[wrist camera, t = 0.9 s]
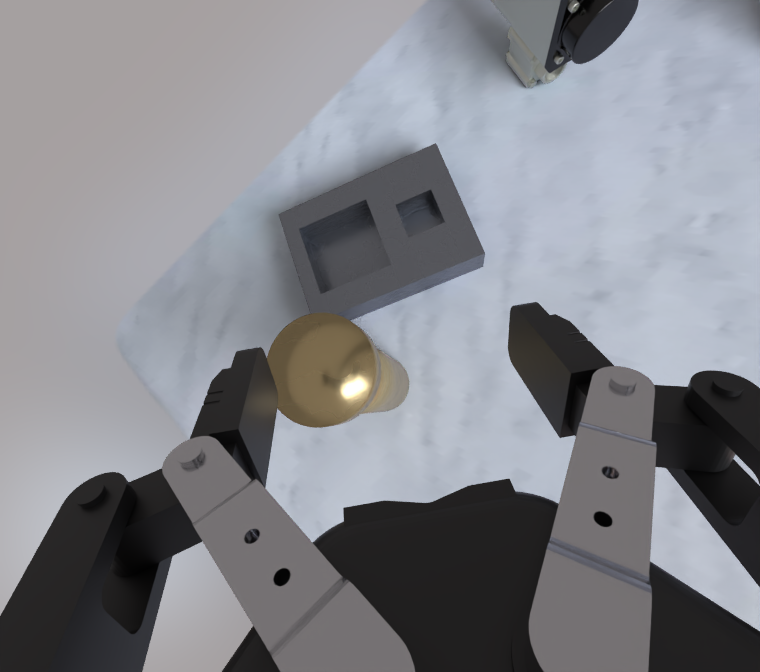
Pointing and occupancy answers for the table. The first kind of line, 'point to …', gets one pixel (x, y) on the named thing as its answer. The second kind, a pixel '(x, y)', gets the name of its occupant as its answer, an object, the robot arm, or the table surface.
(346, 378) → the brass headed pin
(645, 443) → the robot arm
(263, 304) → the table surface
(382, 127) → the table surface
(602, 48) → the pneumatic valve
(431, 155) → the plate
